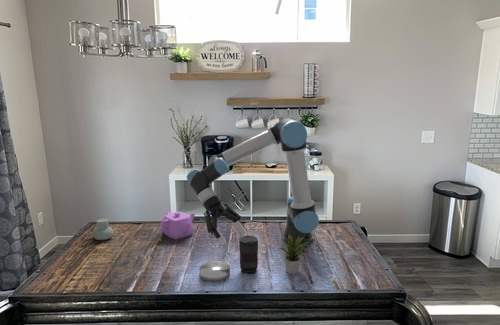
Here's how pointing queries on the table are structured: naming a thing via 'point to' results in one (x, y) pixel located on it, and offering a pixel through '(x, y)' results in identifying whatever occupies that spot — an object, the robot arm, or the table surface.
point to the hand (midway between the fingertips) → (234, 238)
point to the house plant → (293, 255)
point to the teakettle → (177, 225)
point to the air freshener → (102, 230)
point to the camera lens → (248, 254)
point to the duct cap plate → (214, 271)
